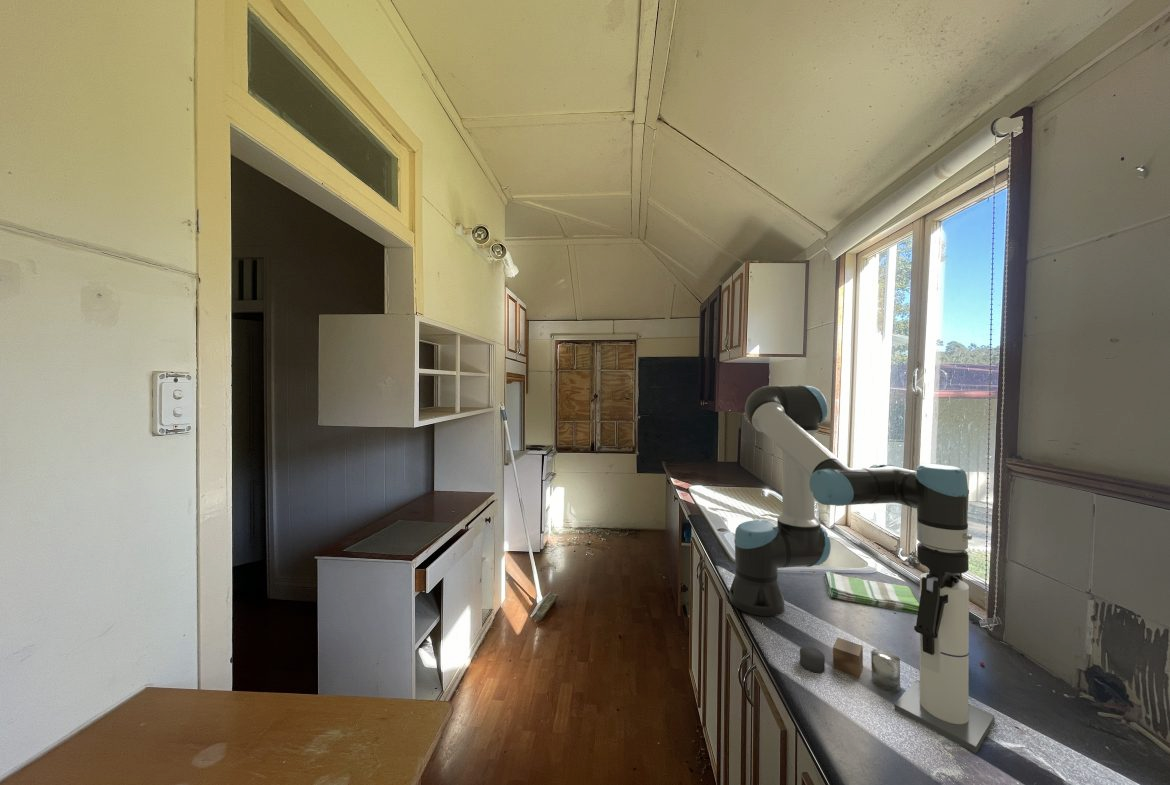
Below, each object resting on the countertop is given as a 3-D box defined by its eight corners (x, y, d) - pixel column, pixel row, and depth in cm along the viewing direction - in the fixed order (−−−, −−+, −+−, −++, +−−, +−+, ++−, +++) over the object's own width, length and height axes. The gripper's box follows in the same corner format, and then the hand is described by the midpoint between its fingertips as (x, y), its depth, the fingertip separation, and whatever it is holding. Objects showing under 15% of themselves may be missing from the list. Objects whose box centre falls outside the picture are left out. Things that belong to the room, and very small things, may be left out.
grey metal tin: (867, 682, 90) (867, 654, 90) (877, 673, 92) (877, 646, 92) (894, 695, 86) (894, 667, 86) (904, 686, 88) (903, 658, 88)
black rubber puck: (795, 664, 96) (795, 652, 96) (806, 656, 98) (806, 644, 98) (817, 677, 92) (817, 663, 92) (828, 668, 94) (828, 655, 94)
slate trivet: (894, 709, 82) (894, 703, 82) (917, 685, 89) (917, 679, 89) (975, 753, 72) (975, 746, 72) (994, 721, 79) (994, 715, 79)
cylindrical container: (919, 711, 80) (919, 582, 79) (919, 690, 85) (920, 569, 85) (970, 730, 75) (970, 594, 75) (966, 707, 81) (967, 579, 80)
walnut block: (833, 669, 94) (833, 647, 94) (837, 658, 98) (837, 637, 98) (859, 679, 91) (859, 656, 91) (862, 667, 94) (862, 645, 94)
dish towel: (824, 577, 141) (824, 566, 141) (907, 590, 131) (907, 579, 131) (829, 600, 126) (829, 588, 126) (924, 617, 116) (924, 604, 116)
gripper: (945, 568, 70) (946, 693, 70) (986, 538, 84) (987, 642, 84) (892, 554, 76) (894, 669, 76) (939, 528, 90) (940, 625, 90)
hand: (942, 655), depth 80 cm, fingers open, 13 cm apart
